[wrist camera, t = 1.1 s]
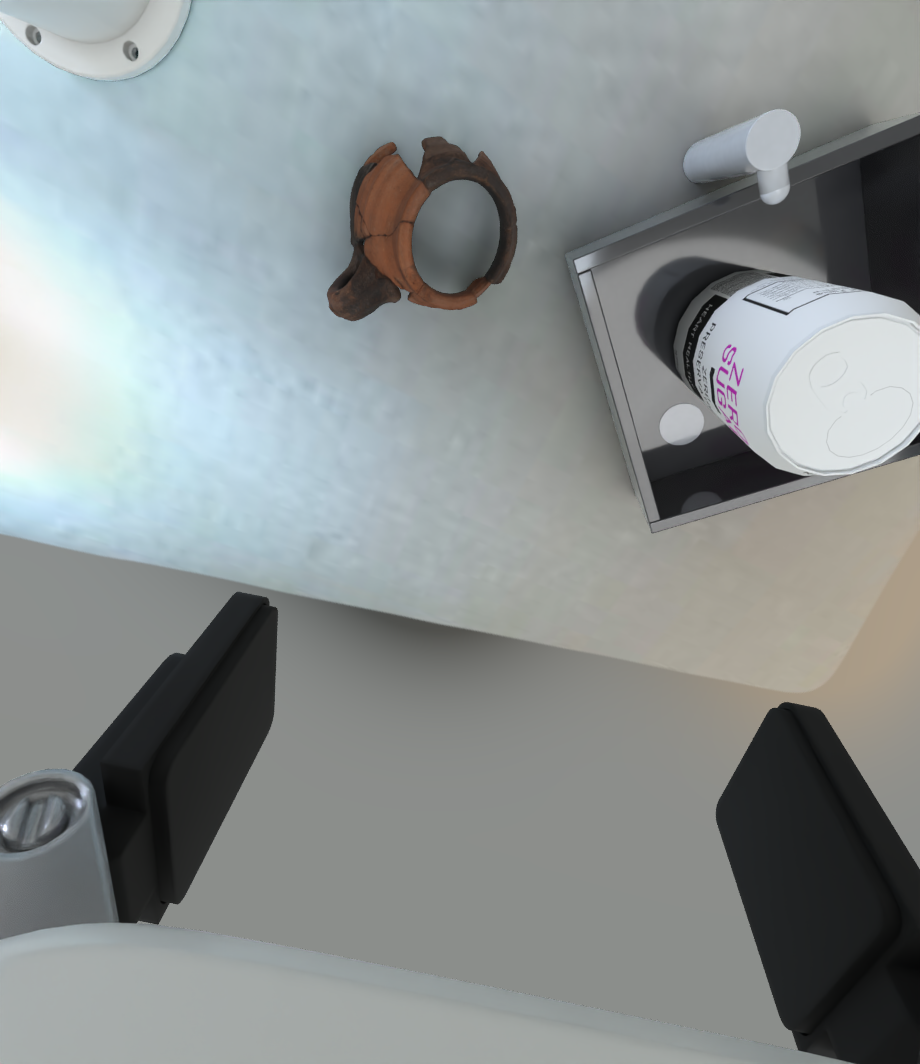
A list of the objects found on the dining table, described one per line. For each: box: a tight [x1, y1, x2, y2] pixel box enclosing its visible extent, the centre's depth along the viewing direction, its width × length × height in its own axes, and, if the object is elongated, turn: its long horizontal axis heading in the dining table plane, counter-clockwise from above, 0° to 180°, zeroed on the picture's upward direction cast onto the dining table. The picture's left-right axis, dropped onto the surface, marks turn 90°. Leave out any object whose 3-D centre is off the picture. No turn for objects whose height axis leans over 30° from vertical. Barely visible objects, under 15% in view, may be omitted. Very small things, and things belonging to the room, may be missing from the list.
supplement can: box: [673, 269, 920, 476], centre depth 32 cm, size 8×8×15 cm
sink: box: [565, 109, 920, 533], centre depth 33 cm, size 20×18×11 cm
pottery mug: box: [327, 137, 517, 321], centre depth 35 cm, size 12×10×8 cm
